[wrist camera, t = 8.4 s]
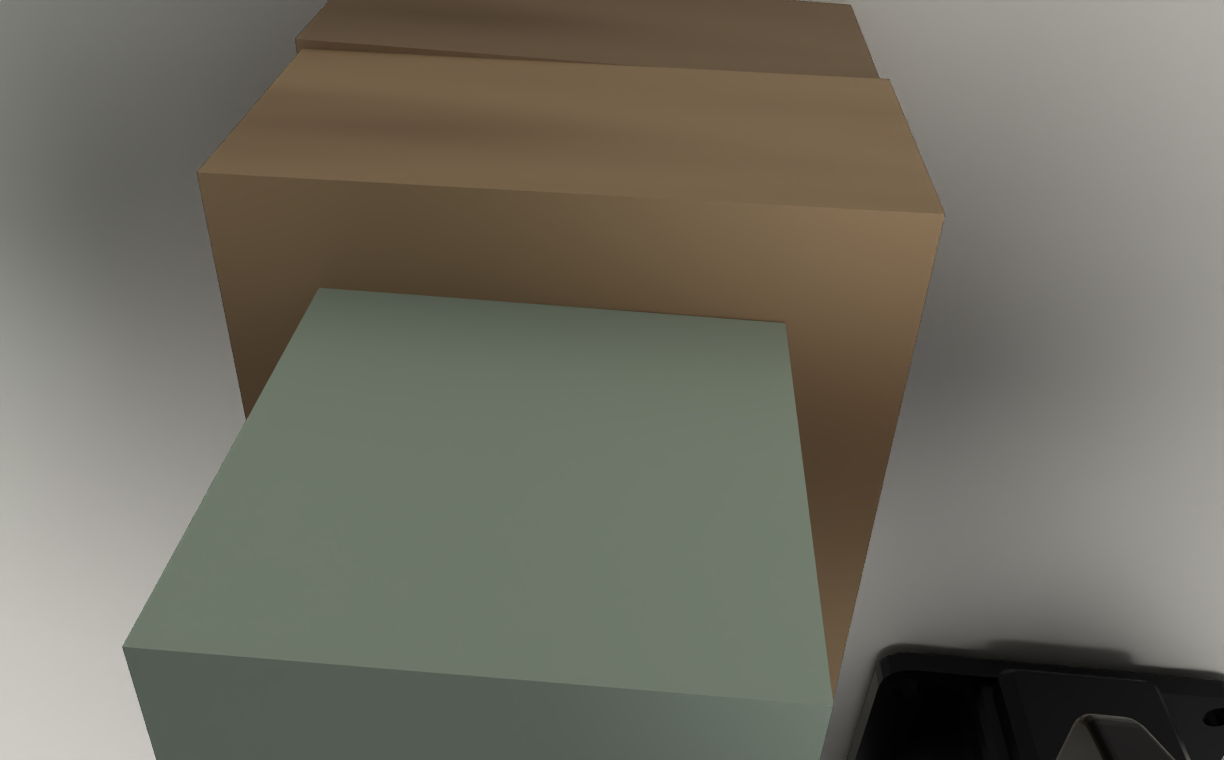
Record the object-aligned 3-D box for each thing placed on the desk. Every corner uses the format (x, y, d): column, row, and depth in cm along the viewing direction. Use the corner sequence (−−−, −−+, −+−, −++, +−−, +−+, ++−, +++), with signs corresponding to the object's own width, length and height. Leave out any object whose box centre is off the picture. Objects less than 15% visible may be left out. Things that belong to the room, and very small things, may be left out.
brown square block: (808, 518, 15) (832, 702, 12) (359, 490, 15) (295, 666, 12) (889, 79, 11) (945, 214, 9) (302, 47, 11) (196, 172, 9)
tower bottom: (776, 389, 17) (791, 521, 15) (392, 357, 17) (343, 483, 15) (848, -3, 14) (882, 84, 11) (365, -41, 14) (294, 39, 11)
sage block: (731, 642, 12) (745, 1043, 8) (356, 611, 12) (228, 998, 9) (784, 323, 9) (833, 704, 6) (319, 287, 10) (121, 646, 6)
